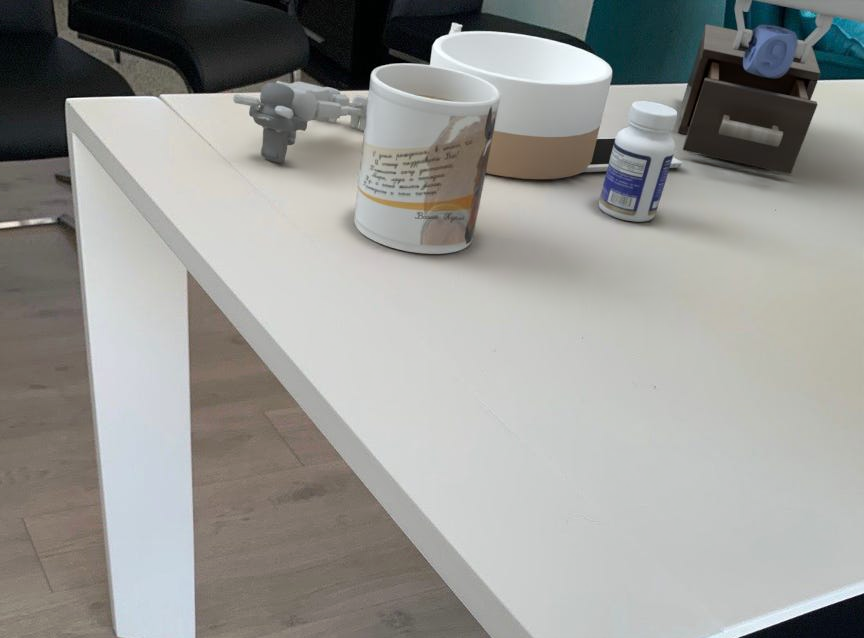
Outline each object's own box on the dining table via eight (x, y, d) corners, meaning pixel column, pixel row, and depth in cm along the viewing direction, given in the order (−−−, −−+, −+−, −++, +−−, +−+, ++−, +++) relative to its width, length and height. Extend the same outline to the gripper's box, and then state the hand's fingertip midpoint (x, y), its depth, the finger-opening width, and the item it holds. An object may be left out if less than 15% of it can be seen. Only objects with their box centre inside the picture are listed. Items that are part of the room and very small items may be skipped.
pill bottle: (634, 200, 96) (664, 99, 90) (665, 223, 93) (698, 118, 87) (586, 201, 94) (613, 97, 89) (615, 223, 91) (646, 117, 85)
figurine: (307, 144, 104) (220, 154, 89) (317, 75, 100) (229, 73, 85) (373, 163, 102) (296, 176, 87) (386, 94, 99) (308, 95, 84)
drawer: (792, 186, 103) (820, 115, 99) (681, 162, 105) (704, 90, 100) (785, 139, 117) (809, 74, 112) (686, 118, 118) (706, 52, 113)
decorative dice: (775, 70, 109) (790, 28, 106) (786, 80, 106) (801, 37, 103) (739, 64, 108) (753, 22, 106) (748, 74, 105) (763, 31, 103)
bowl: (579, 193, 95) (602, 96, 89) (401, 156, 97) (412, 58, 91) (601, 140, 107) (622, 52, 102) (443, 108, 110) (455, 20, 104)
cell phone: (681, 168, 105) (683, 162, 105) (556, 174, 98) (558, 168, 98) (634, 142, 110) (636, 136, 110) (512, 146, 103) (513, 140, 103)
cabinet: (788, 157, 115) (820, 73, 109) (677, 132, 116) (703, 48, 110) (783, 123, 126) (812, 46, 120) (682, 101, 127) (705, 24, 121)
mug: (323, 212, 83) (338, 63, 76) (431, 194, 90) (454, 55, 83) (407, 263, 78) (431, 107, 71) (515, 240, 85) (548, 96, 77)
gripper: (929, -88, 98) (865, 70, 107) (718, -129, 100) (673, 30, 109) (940, -81, 94) (872, 83, 103) (717, -124, 96) (670, 41, 105)
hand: (767, 55), depth 106 cm, fingers closed on decorative dice, 4 cm apart
